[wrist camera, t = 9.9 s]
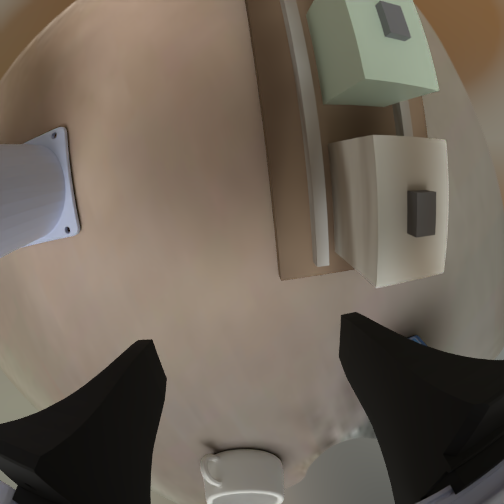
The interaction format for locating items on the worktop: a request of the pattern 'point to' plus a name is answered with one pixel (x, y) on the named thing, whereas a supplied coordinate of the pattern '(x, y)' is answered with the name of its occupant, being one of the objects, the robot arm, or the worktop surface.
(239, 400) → the worktop surface
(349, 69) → the module
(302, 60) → the rail board
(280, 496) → the mug
